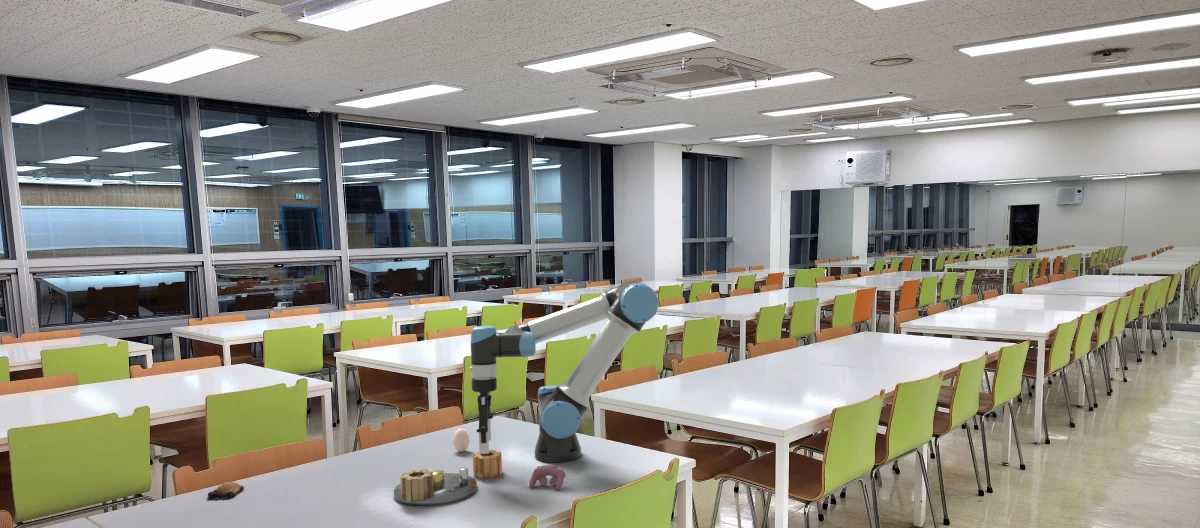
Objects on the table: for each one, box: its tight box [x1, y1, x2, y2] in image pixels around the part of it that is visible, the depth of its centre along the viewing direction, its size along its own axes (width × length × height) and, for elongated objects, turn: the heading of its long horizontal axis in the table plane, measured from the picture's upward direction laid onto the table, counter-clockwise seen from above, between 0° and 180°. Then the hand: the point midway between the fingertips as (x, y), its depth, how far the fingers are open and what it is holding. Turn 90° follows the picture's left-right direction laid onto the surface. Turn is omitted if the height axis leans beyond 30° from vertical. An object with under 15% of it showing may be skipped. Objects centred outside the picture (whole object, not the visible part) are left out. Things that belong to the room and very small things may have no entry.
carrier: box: [393, 467, 478, 508], centre depth 207 cm, size 23×23×8 cm
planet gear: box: [472, 449, 503, 479], centre depth 221 cm, size 8×8×6 cm
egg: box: [452, 428, 471, 453], centre depth 245 cm, size 6×6×8 cm
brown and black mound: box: [206, 481, 246, 502], centre depth 211 cm, size 11×8×4 cm
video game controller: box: [528, 464, 566, 491], centre depth 209 cm, size 10×5×7 cm, turn 71°
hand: (485, 446), depth 221 cm, fingers open, 13 cm apart
